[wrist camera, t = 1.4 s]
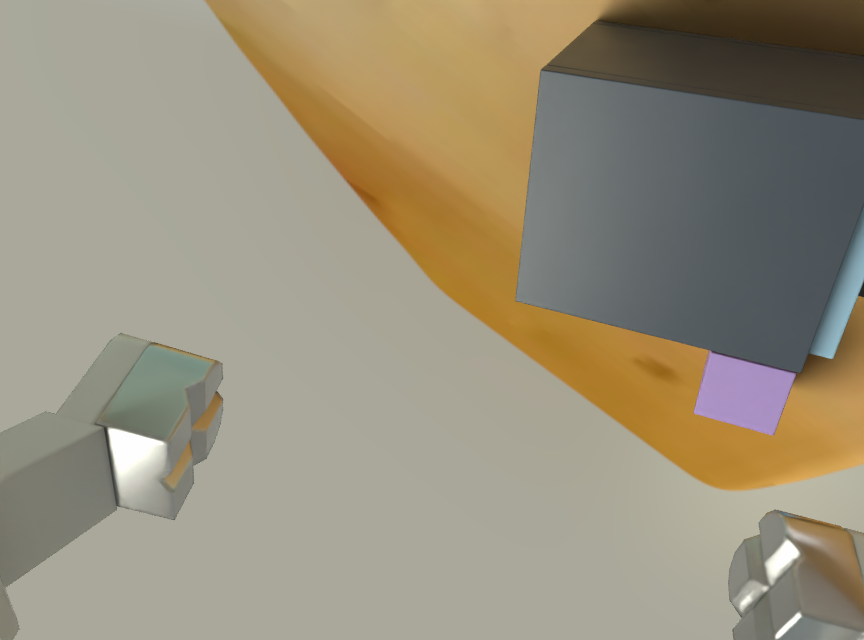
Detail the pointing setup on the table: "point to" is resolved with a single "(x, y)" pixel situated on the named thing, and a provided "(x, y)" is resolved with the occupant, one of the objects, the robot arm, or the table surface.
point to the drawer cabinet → (694, 187)
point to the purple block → (743, 392)
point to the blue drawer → (842, 296)
